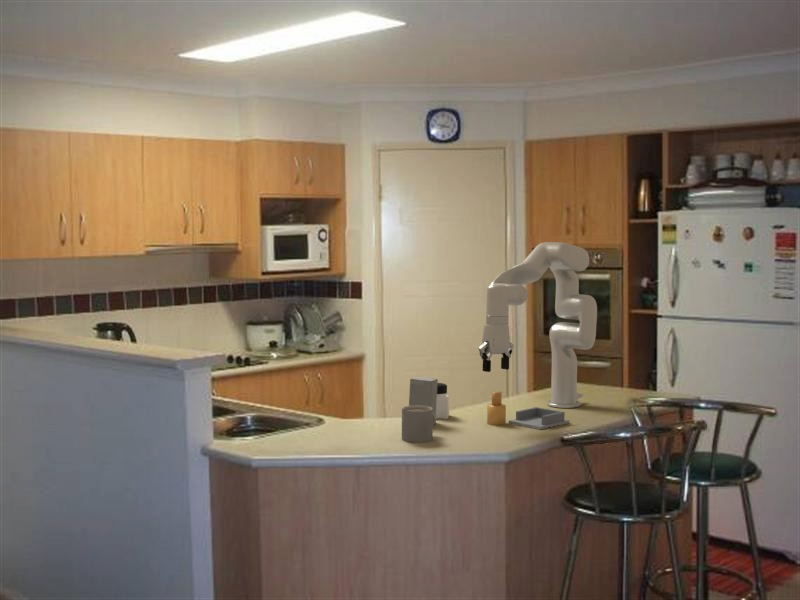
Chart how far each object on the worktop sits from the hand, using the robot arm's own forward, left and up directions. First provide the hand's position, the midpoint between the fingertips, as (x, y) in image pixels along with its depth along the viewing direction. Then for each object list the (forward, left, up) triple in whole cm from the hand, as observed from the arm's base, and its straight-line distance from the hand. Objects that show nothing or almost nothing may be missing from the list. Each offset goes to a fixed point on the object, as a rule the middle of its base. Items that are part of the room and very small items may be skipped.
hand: (495, 370), depth 345 cm
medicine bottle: (+5, -22, -19) cm, 30 cm away
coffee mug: (+34, -2, -19) cm, 39 cm away
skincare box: (+17, -18, -19) cm, 31 cm away
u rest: (-12, +10, -19) cm, 24 cm away
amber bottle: (-1, 0, -19) cm, 19 cm away
